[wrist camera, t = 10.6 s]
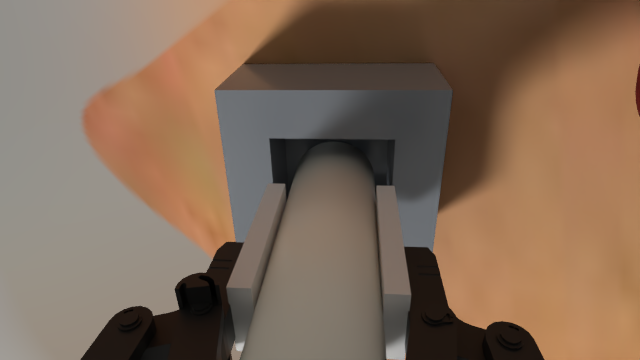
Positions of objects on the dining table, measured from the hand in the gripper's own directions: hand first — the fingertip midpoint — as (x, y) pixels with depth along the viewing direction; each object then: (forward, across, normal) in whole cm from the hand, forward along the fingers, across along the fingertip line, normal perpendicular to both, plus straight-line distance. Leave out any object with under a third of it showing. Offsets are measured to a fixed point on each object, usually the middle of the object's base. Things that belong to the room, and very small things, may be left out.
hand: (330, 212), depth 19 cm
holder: (+7, 0, 0) cm, 7 cm away
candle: (+3, 0, 0) cm, 3 cm away
